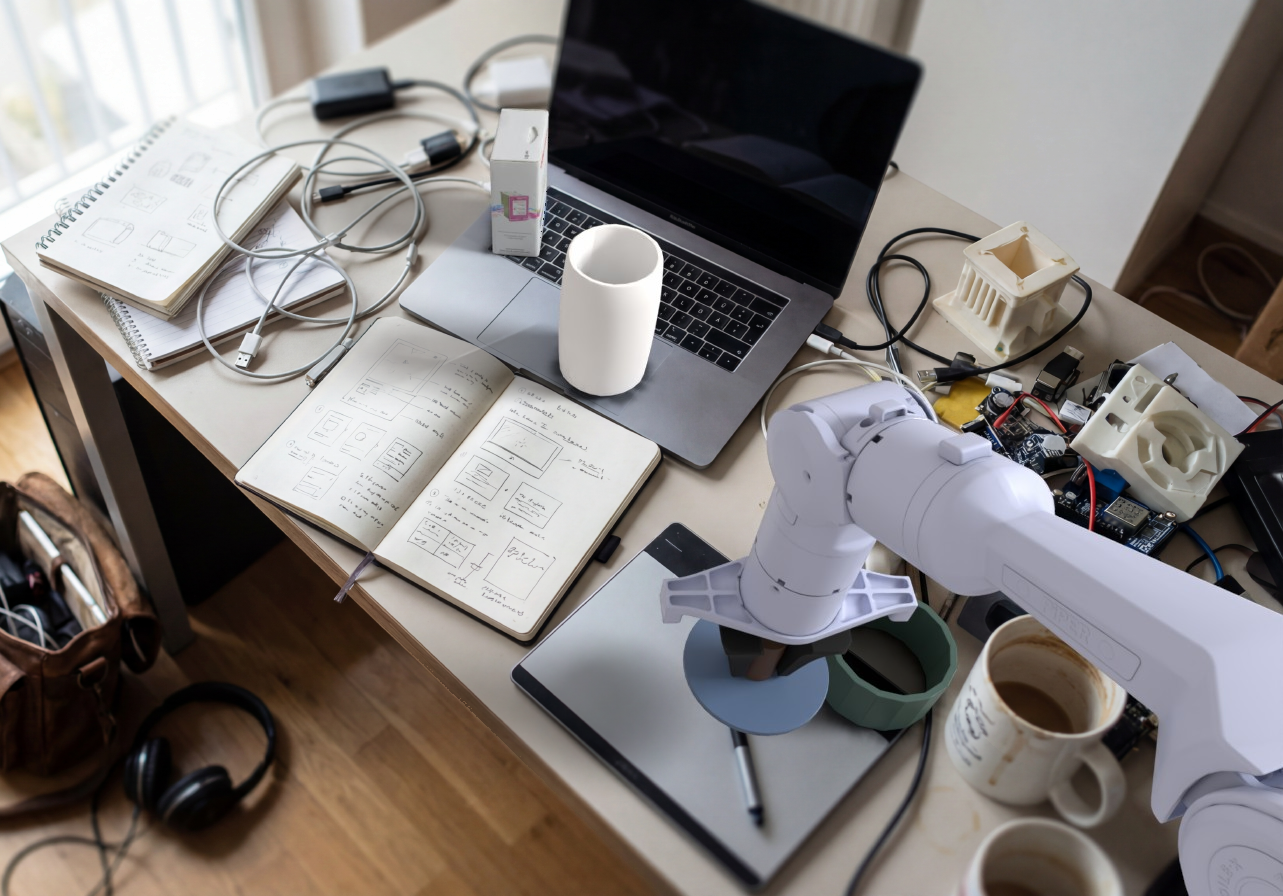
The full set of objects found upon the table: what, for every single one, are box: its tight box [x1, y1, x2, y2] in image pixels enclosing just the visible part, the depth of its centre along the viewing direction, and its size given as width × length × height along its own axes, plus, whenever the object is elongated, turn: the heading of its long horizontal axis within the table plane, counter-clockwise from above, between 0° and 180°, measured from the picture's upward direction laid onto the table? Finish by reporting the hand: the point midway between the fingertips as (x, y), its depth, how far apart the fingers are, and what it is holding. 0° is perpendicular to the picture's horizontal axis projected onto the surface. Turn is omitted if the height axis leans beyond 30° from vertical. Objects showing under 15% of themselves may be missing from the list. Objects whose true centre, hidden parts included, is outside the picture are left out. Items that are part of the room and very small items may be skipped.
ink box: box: [489, 108, 550, 258], centre depth 101 cm, size 9×5×12 cm, turn 172°
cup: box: [558, 223, 664, 397], centre depth 88 cm, size 8×8×14 cm
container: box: [825, 598, 958, 732], centre depth 72 cm, size 9×9×5 cm
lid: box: [682, 618, 829, 737], centre depth 65 cm, size 9×9×6 cm
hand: (757, 662), depth 66 cm, fingers closed on lid, 2 cm apart
